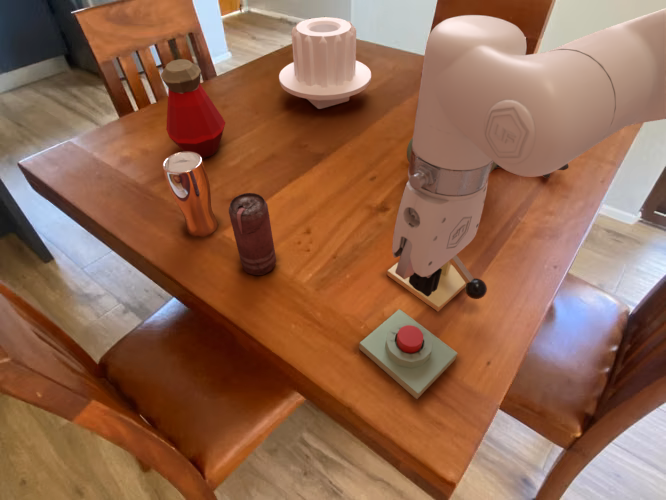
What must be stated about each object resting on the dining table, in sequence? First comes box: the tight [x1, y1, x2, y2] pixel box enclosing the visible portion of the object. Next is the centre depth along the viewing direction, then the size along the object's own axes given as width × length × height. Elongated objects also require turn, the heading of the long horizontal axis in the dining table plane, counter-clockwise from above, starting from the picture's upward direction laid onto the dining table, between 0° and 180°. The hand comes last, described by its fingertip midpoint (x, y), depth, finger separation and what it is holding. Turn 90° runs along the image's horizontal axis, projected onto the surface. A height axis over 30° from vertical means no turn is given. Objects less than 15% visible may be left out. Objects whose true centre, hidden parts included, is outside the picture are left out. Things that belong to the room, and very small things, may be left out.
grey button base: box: [358, 308, 458, 400], centre depth 63 cm, size 11×9×4 cm
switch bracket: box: [386, 261, 466, 312], centre depth 70 cm, size 11×9×12 cm
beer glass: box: [162, 151, 219, 238], centre depth 79 cm, size 7×7×15 cm
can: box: [228, 192, 277, 276], centre depth 72 cm, size 6×6×14 cm
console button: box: [397, 325, 423, 353], centre depth 61 cm, size 4×4×2 cm
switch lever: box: [449, 254, 488, 300], centre depth 67 cm, size 13×3×3 cm
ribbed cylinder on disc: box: [278, 16, 372, 110], centre depth 115 cm, size 25×25×19 cm
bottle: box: [160, 59, 226, 160], centre depth 98 cm, size 16×14×20 cm
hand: (422, 286), depth 54 cm, fingers closed
